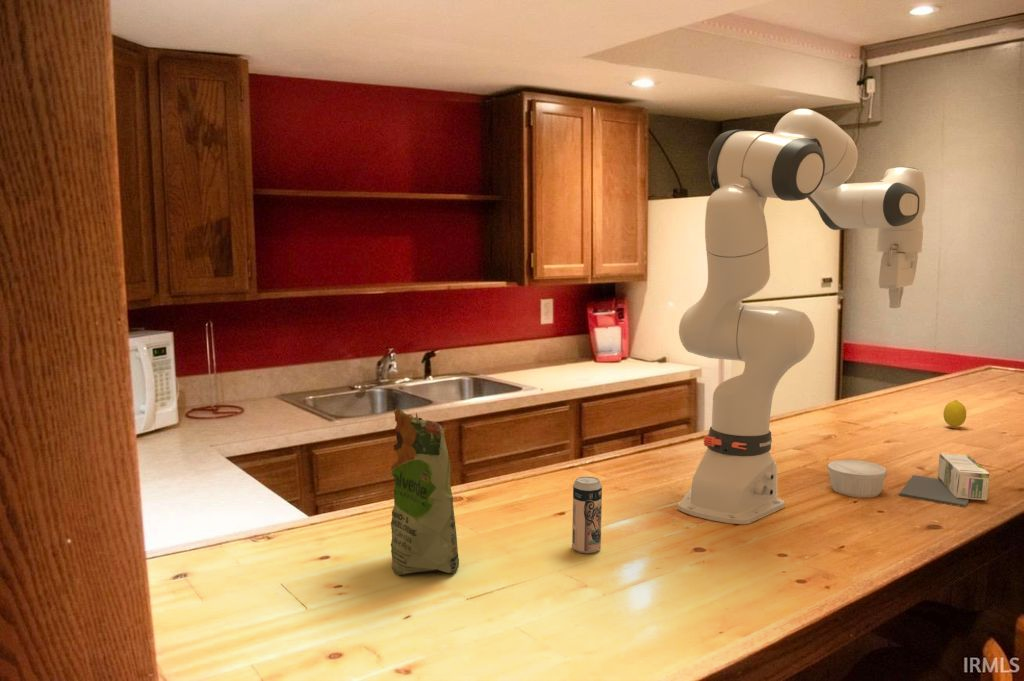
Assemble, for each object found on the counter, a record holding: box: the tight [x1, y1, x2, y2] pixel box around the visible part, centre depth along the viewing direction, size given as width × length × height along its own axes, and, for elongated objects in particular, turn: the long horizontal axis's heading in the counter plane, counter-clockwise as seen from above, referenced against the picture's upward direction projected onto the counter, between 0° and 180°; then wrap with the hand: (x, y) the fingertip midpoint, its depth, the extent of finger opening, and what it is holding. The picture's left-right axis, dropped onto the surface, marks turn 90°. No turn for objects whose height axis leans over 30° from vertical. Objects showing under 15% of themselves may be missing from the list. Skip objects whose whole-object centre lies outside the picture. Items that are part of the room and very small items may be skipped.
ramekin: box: [827, 459, 888, 498], centre depth 166 cm, size 11×11×5 cm
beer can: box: [571, 475, 603, 555], centre depth 133 cm, size 5×5×12 cm
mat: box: [898, 474, 970, 507], centre depth 167 cm, size 16×12×1 cm
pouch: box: [390, 407, 460, 576], centre depth 124 cm, size 11×12×25 cm
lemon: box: [943, 399, 967, 429], centre depth 222 cm, size 6×6×8 cm
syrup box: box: [937, 452, 991, 501], centre depth 166 cm, size 6×6×14 cm
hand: (894, 307), depth 175 cm, fingers closed
